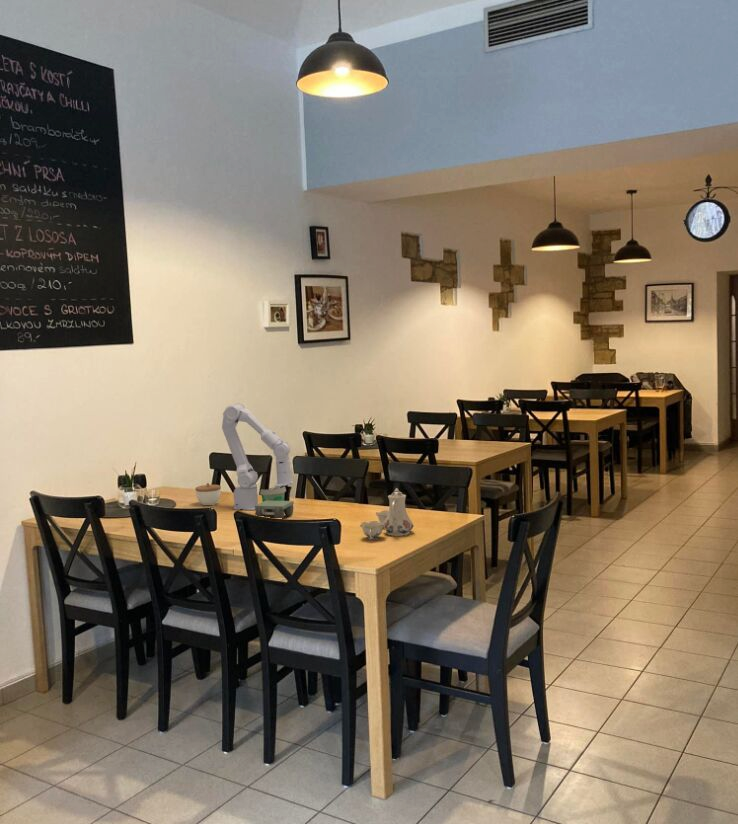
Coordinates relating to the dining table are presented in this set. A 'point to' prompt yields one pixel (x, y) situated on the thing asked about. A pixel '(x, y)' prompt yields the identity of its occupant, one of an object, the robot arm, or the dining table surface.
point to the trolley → (274, 508)
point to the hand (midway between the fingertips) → (285, 503)
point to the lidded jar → (208, 494)
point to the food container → (273, 494)
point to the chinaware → (390, 519)
